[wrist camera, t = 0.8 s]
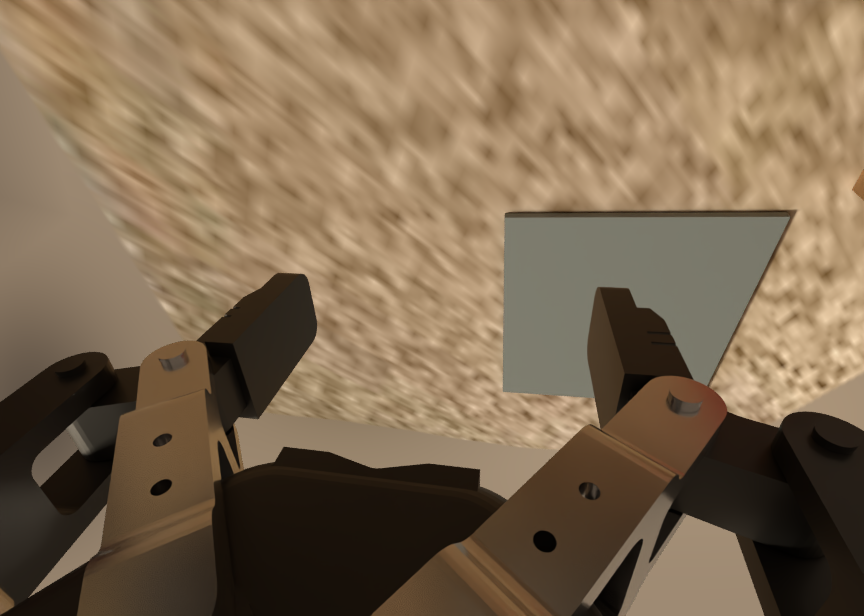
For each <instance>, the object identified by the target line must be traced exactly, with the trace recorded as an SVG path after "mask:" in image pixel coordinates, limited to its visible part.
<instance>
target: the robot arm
mask: <svg viewBox="0 0 864 616" xmlns="http://www.w3.org/2000/svg"><path fill="white" fill-rule="evenodd" d="M316 331H317V320H316V315H315V310H314V305H313V300H312V296H311V291H310V286H309V282H308V279H307V277H306V276H305V275H304V274H293V273H277V274H275V275H274V276H273V277H272V278H271V279H270V280H269V281H268V282H267V283H266V284H265V285H264V286H263V287H262V288H260V289H258V290H256V291H254V292H252V293H251V294H249V295H247V296H245V297H243V298H242V299H241V300H240V301H239V302H238V303H237V304H236V305H235V306H234V307H233V309H230V310H229V311H228V312H227V313H226V314H225V316H224V317H222V318H221V319H219V320H218V321H217V322H216V323H215V324H214V325H213V326H212V327H211V328H210V329H209V330H207V331H206V332H205V333H204V334H203V335H202V336H201V337H200V338H199V339H198V340H197V341H180V342H175V343H172V344H169V345H166V346H163V347H161V348H159V349H157V350H155V351H154V352H152V353H151V354H149V355H148V356H147V357H146V358H145V359H144V360H143V362H142V364H141V366H138V367H130V368H123V369H115V370H114V368H113V366H112V364H111V363H110V361H109V359H108V357H107V356H106V355H105V354H103V353H100V352H87V353H81V354H77V355H74V356H71V357H68V358H65V359H63V360H60V361H58V362H56V363H54V364H53V365H51V366H49V367H48V368H47V369H45V370H44V371H42V372H41V373H39V374H38V375H37V376H35V377H34V378H33V379H31V380H30V381H29V382H27V383H26V384H24V385H23V386H22V387H20V388H19V389H18V390H16V391H15V392H14V393H12V394H11V395H10V396H8V397H7V398H5V399H4V400H3V401H1V402H0V616H626V614H627V612H628V611H629V609H630V607H631V605H632V603H633V602H634V600H635V598H636V596H637V593H638V591H639V589H640V587H641V585H642V583H643V582H644V580H645V578H646V576H647V575H648V573H649V572H650V570H651V569H652V567H653V566H654V564H655V563H656V561H657V560H658V558H659V556H660V555H661V553H662V552H663V550H664V549H665V547H666V546H667V544H668V543H669V541H670V540H671V538H672V537H673V535H674V533H675V532H676V530H677V529H678V527H679V526H680V524H681V523H682V521H683V519H684V518H685V517H686V515H690V516H692V517H695V518H697V519H700V520H702V521H705V522H708V523H710V524H713V525H715V526H718V527H721V528H723V529H726V530H728V531H731V532H733V533H736V536H737V539H738V542H739V545H740V548H741V550H742V553H743V556H744V559H745V562H746V565H747V567H748V570H749V573H750V576H751V579H752V582H753V584H754V587H755V590H756V593H757V596H758V598H759V601H760V604H761V607H762V610H763V612H764V616H864V431H863V430H861V429H859V428H858V427H856V426H854V425H852V424H850V423H848V422H846V421H843V420H841V419H839V418H835V417H833V416H829V415H826V414H821V413H816V412H796V413H792V414H790V415H788V416H786V417H785V418H784V420H783V421H782V423H781V425H780V427H779V428H777V427H774V426H771V425H767V424H764V423H760V422H756V421H753V420H749V419H746V418H743V417H740V416H737V415H734V414H732V413H729V412H727V407H726V404H725V402H724V401H723V399H722V398H721V397H720V396H719V395H718V394H717V393H716V392H715V391H713V390H712V389H711V388H709V387H707V386H706V385H704V384H702V383H700V382H697V381H695V380H694V379H693V377H692V375H691V373H690V371H689V369H688V367H687V365H686V363H685V361H684V359H683V357H682V355H681V353H680V351H679V349H678V346H676V342H675V340H674V338H673V336H672V335H671V332H670V330H669V328H668V326H667V324H666V322H665V320H664V319H663V318H662V317H660V316H659V315H658V314H657V313H655V312H654V311H653V310H652V309H650V308H637V306H636V304H635V302H634V299H633V297H632V294H631V292H630V290H629V288H615V287H597V289H596V292H595V297H594V303H593V309H592V315H591V322H590V328H589V334H588V342H587V359H588V365H589V370H590V376H591V381H592V386H593V391H594V397H595V402H596V407H597V412H598V418H599V423H600V428H601V429H599V428H597V427H595V426H594V425H591V424H589V425H587V426H585V427H583V428H582V429H581V430H580V431H579V432H578V433H577V434H576V435H575V436H574V437H573V438H572V439H571V440H570V441H568V442H567V443H566V444H565V445H564V446H563V447H562V448H561V449H560V450H559V451H558V452H557V453H556V454H555V455H554V456H553V457H552V458H551V459H550V460H549V461H548V462H547V463H546V464H545V465H544V466H543V467H542V468H540V469H539V470H538V471H537V472H536V473H535V474H534V475H533V476H532V477H531V478H530V479H529V480H528V481H527V482H526V483H525V484H524V485H523V486H522V487H521V488H520V489H519V490H518V491H517V492H516V493H515V494H514V495H512V496H511V497H510V498H509V499H508V500H506V499H505V498H503V497H501V496H500V495H498V494H496V493H494V492H492V491H490V490H488V489H485V488H483V487H480V469H471V468H461V467H453V466H445V465H436V464H420V465H410V466H399V467H389V468H378V469H375V468H370V467H367V466H365V465H362V464H359V463H357V462H354V461H351V460H349V459H346V458H343V457H341V456H338V455H335V454H333V453H330V452H324V451H316V450H307V449H298V448H290V447H283V449H282V451H281V452H280V454H279V456H278V458H277V459H276V461H275V462H273V463H267V464H262V465H258V466H254V467H251V468H248V469H245V470H244V467H243V461H242V455H241V449H240V444H239V438H238V432H237V429H236V427H235V424H234V422H235V421H236V420H237V418H238V417H243V418H252V419H259V417H260V416H261V415H262V413H263V412H264V410H265V409H266V408H267V406H268V405H269V403H270V402H271V400H272V399H273V398H274V396H275V395H276V393H277V392H278V391H279V389H280V388H281V386H282V385H283V383H284V382H285V381H286V379H287V378H288V376H289V375H290V373H291V372H292V371H293V369H294V368H295V366H296V365H297V363H298V362H299V361H300V359H301V358H302V356H303V355H304V354H305V352H306V351H307V349H308V348H309V346H310V345H311V344H312V342H313V341H314V339H315V336H316ZM64 430H66V431H67V432H68V434H69V436H70V437H71V439H72V440H73V442H74V443H75V445H76V447H77V448H78V450H77V451H76V452H75V453H74V454H73V455H72V456H71V457H70V458H69V459H68V460H67V461H66V462H65V463H64V464H63V465H62V466H61V467H60V468H59V469H58V470H57V471H56V472H55V473H54V474H53V475H52V476H51V477H50V478H49V479H48V480H47V481H46V482H45V483H44V484H43V485H42V486H41V487H39V486H38V484H37V483H36V482H35V480H34V479H33V477H32V472H31V470H32V464H33V462H34V460H35V458H36V457H37V455H38V454H39V453H40V452H41V451H42V450H43V449H44V448H45V447H46V446H48V445H49V444H50V443H51V442H52V441H53V440H54V439H55V438H56V437H57V436H59V435H60V434H61V433H62V432H63V431H64ZM106 504H107V508H106V514H105V521H104V528H103V535H102V542H101V547H100V550H99V552H98V553H97V554H96V555H95V556H93V557H92V558H91V559H90V560H89V561H88V562H87V563H85V564H83V565H81V566H80V567H78V568H77V569H75V570H73V571H72V572H70V573H68V574H67V575H65V576H63V577H62V578H60V579H59V580H57V581H55V582H54V583H52V584H50V585H49V586H47V587H45V588H44V589H42V590H41V591H39V592H37V593H35V594H34V595H32V596H31V597H29V596H30V595H31V594H32V593H33V591H34V590H35V589H36V587H38V585H39V584H40V583H41V582H42V580H43V579H44V578H45V577H46V576H47V575H48V573H49V572H50V571H51V570H52V568H53V567H54V566H55V565H56V564H57V563H58V561H59V560H60V559H61V558H62V557H63V555H64V554H65V553H66V552H67V550H68V549H69V548H70V547H71V546H72V545H73V543H74V542H75V541H76V540H77V538H78V537H79V536H80V535H81V534H82V533H83V531H84V530H85V529H86V528H87V527H88V525H89V524H90V523H91V522H92V521H93V519H94V518H95V517H96V516H97V515H98V513H99V512H100V511H101V510H102V509H103V507H104V506H105V505H106ZM28 597H29V598H28Z"/></svg>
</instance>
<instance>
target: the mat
mask: <svg viewBox="0 0 864 616" xmlns="http://www.w3.org/2000/svg"><path fill="white" fill-rule="evenodd" d="M789 219H790V216H789V214H788V213H787V212H690V213H505V242H504V332H503V392H514V393H529V394H544V395H558V396H573V397H587V398H595V397H594V391H593V386H592V381H591V376H590V370H589V365H588V359H587V342H588V334H589V328H590V322H591V315H592V309H593V303H594V297H595V292H596V289H597V287H615V288H629V290H630V292H631V294H632V297H633V299H634V302H635V304H636V306H637V308H650V309H652V310H653V311H654V312H655V313H657V314H658V315H659V316H660V317H662V318H663V319H664V320H665V322H666V324H667V326H668V328H669V330H670V332H671V335H672V336H673V338H674V340H675V342H676V346H678V349H679V351H680V353H681V355H682V357H683V359H684V361H685V363H686V365H687V367H688V369H689V371H690V373H691V375H692V377H693V379H694V380H695V381H697V382H700V383H702V384H704V385H706V386H707V385H708V383H709V381H710V379H711V377H712V375H713V373H714V371H715V369H716V367H717V365H718V363H719V361H720V359H721V357H722V355H723V353H724V351H725V349H726V347H727V345H728V343H729V341H730V339H731V336H732V334H733V332H734V330H735V328H736V326H737V324H738V322H739V320H740V318H741V316H742V314H743V312H744V310H745V308H746V306H747V304H748V302H749V300H750V298H751V296H752V294H753V292H754V290H755V288H756V286H757V284H758V282H759V280H760V278H761V276H762V274H763V272H764V270H765V268H766V266H767V263H768V261H769V259H770V257H771V255H772V253H773V251H774V249H775V247H776V245H777V243H778V241H779V239H780V237H781V235H782V233H783V231H784V229H785V227H786V225H787V223H788V221H789Z"/></svg>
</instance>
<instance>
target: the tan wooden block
mask: <svg viewBox="0 0 864 616" xmlns="http://www.w3.org/2000/svg"><path fill="white" fill-rule="evenodd" d="M852 190H853V191H854V192H855V193H856V194H857V195H858V196H859V197H861V198H862V199H863V200H864V170H863V172H862V173H861V175H860V177H859V179H858V180H857V182H856V184H855V186H854V187H853V189H852Z"/></svg>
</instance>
